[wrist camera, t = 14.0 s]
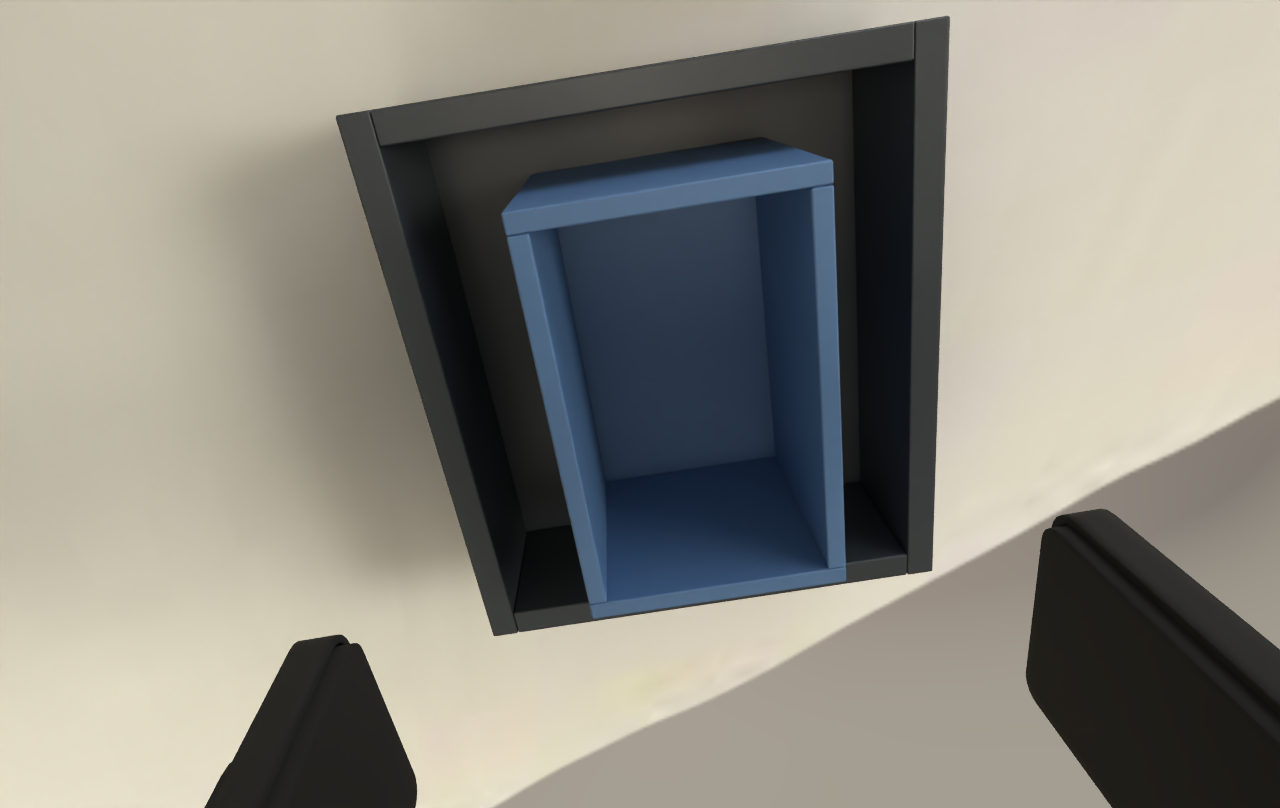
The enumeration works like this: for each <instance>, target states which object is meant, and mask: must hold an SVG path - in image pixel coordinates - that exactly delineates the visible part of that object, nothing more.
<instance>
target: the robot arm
mask: <svg viewBox="0 0 1280 808" xmlns="http://www.w3.org/2000/svg"><path fill="white" fill-rule="evenodd" d="M1026 679H1027V684H1028V687H1029V690H1030V693H1031V695H1032V697H1033V699H1034V700H1035V702H1036V703H1037V705H1038V706H1039V708H1040V709H1041V710H1042V712H1043V713H1044V714H1045V716H1046V717H1047V718H1048V720H1049V721H1050V723H1051V724H1052V725H1053V727H1054V728H1055V730H1056V731H1057V732H1058V734H1059V735H1060V736H1061V738H1062V739H1063V741H1064V742H1065V743H1066V745H1067V746H1068V747H1069V749H1070V750H1071V751H1072V753H1073V754H1074V756H1075V757H1076V758H1077V760H1078V761H1079V763H1080V764H1081V765H1082V767H1083V768H1084V769H1085V771H1086V772H1087V774H1088V775H1089V776H1090V778H1091V779H1092V780H1093V782H1094V783H1095V785H1096V786H1097V787H1098V789H1099V790H1100V791H1101V793H1102V794H1103V795H1104V797H1105V798H1106V800H1107V801H1108V802H1109V804H1110V805H1111V807H1112V808H1280V650H1279V649H1278V648H1277V647H1276V646H1275V645H1273V644H1272V643H1271V642H1270V641H1269V640H1267V639H1266V638H1265V637H1264V636H1262V635H1261V634H1260V633H1259V632H1257V631H1256V630H1255V629H1254V628H1253V627H1251V626H1250V625H1249V624H1248V623H1247V622H1245V621H1244V620H1243V619H1242V618H1240V617H1239V616H1238V615H1237V614H1236V613H1234V612H1233V611H1232V610H1231V609H1229V608H1228V607H1227V606H1226V605H1224V604H1223V603H1222V602H1221V601H1220V600H1218V599H1217V598H1216V597H1215V596H1214V595H1212V594H1211V593H1210V592H1209V591H1207V590H1206V589H1205V588H1204V587H1203V586H1201V585H1200V584H1199V583H1198V582H1196V581H1195V580H1194V579H1192V577H1190V576H1189V575H1188V574H1186V573H1185V572H1184V571H1183V570H1182V569H1180V568H1179V567H1178V566H1177V565H1176V564H1174V563H1173V562H1172V561H1171V560H1169V559H1168V558H1167V557H1166V556H1164V555H1163V554H1162V553H1161V552H1160V551H1158V550H1157V549H1156V548H1155V547H1154V546H1152V545H1151V544H1150V543H1149V542H1147V541H1146V540H1145V539H1144V538H1143V537H1141V536H1140V535H1139V534H1138V533H1137V532H1135V531H1134V530H1133V529H1132V528H1130V527H1129V526H1128V525H1127V524H1126V523H1124V522H1123V521H1122V520H1121V519H1119V518H1118V517H1117V516H1116V515H1114V514H1113V513H1111V512H1110V511H1108V510H1104V509H1096V510H1090V511H1084V512H1078V513H1072V514H1066V515H1061V516H1058V517H1056V519H1055V520H1054V522H1053V525H1052V528H1049V529H1046V530H1045V531H1044V533H1043V535H1042V540H1041V549H1040V558H1039V566H1038V574H1037V584H1036V591H1035V601H1034V608H1033V617H1032V625H1031V635H1030V643H1029V651H1028V660H1027V668H1026ZM416 800H417V784H416V778H415V774H414V772H413V769H412V767H411V765H410V762H409V760H408V757H407V755H406V752H405V750H404V748H403V745H402V743H401V740H400V738H399V736H398V733H397V731H396V728H395V726H394V724H393V721H392V719H391V716H390V714H389V712H388V709H387V707H386V704H385V702H384V700H383V697H382V695H381V692H380V690H379V688H378V685H377V683H376V680H375V678H374V675H373V673H372V671H371V668H370V666H369V663H368V661H367V659H366V656H365V654H364V651H363V649H362V648H361V646H360V645H359V644H358V643H352V644H349V642H348V640H347V638H345V637H344V636H343V635H333V636H327V637H321V638H315V639H309V640H303V641H298V642H297V643H295V644H294V645H293V646H292V648H291V649H290V651H289V652H288V654H287V656H286V658H285V660H284V662H283V664H282V666H281V668H280V670H279V672H278V674H277V676H276V678H275V680H274V682H273V683H272V685H271V687H270V689H269V691H268V693H267V695H266V697H265V699H264V701H263V703H262V705H261V707H260V709H259V711H258V713H257V714H256V716H255V718H254V720H253V722H252V724H251V726H250V728H249V730H248V732H247V734H246V736H245V738H244V740H243V742H242V744H241V745H240V747H239V749H238V751H237V753H236V755H235V757H234V759H233V761H232V762H231V763H230V764H229V765H228V767H227V768H226V770H225V771H224V773H223V774H222V776H221V777H220V779H219V781H218V783H217V785H216V787H215V789H214V791H213V793H212V795H211V796H210V798H209V800H208V802H207V804H206V806H205V808H415V806H416Z"/></svg>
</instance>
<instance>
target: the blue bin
mask: <svg viewBox="0 0 1280 808" xmlns="http://www.w3.org/2000/svg"><path fill="white" fill-rule="evenodd" d="M833 182H834V175H833V161H832V160H830V159H827V158H824V157H821V156H818V155H815V154H812V153H809V152H806V151H803V150H800V149H797V148H794V147H791V146H788V145H785V144H782V143H779V142H776V141H773V140H770V139H767V138H764V137H758V138H752V139H746V140H740V141H734V142H727V143H721V144H715V145H709V146H703V147H696V148H690V149H684V150H678V151H672V152H665V153H659V154H653V155H647V156H640V157H634V158H628V159H622V160H616V161H609V162H603V163H597V164H591V165H585V166H578V167H572V168H566V169H560V170H554V171H547V172H541V173H535V174H532V175H531V176H530V178H529V179H528V180H527V181H526V183H525V184H524V185H523V187H522V188H521V189H520V190H519V192H518V193H517V194H516V195H515V197H514V198H513V199H512V201H511V202H510V203H509V204H508V206H507V207H506V208H505V209H504V211H503V212H502V214H501V216H502V221H503V225H504V230H505V234H506V235H507V243H508V247H509V252H510V256H511V261H512V265H513V269H514V274H515V278H516V283H517V287H518V292H519V296H520V300H521V305H522V309H523V314H524V318H525V322H526V327H527V331H528V336H529V340H530V345H531V349H532V353H533V358H534V362H535V367H536V371H537V376H538V380H539V384H540V389H541V393H542V398H543V402H544V406H545V411H546V415H547V420H548V424H549V429H550V433H551V437H552V442H553V446H554V451H555V455H556V460H557V464H558V468H559V473H560V477H561V482H562V486H563V490H564V495H565V499H566V504H567V508H568V513H569V517H570V521H571V526H572V530H573V535H574V539H575V544H576V548H577V552H578V557H579V561H580V566H581V570H582V574H583V579H584V583H585V588H586V592H587V597H588V601H589V603H590V610H591V614H592V618H593V619H596V618H602V617H609V616H616V615H622V614H629V613H636V612H642V611H649V610H656V609H662V608H669V607H676V606H682V605H689V604H696V603H702V602H709V601H716V600H722V599H729V598H736V597H743V596H749V595H756V594H763V593H769V592H776V591H783V590H789V589H796V588H803V587H809V586H816V585H823V584H829V583H836V582H843V581H846V567H845V565H846V556H845V524H844V493H843V461H842V429H841V398H840V366H839V335H838V303H837V271H836V240H835V208H834V186H833V185H832V183H833Z"/></svg>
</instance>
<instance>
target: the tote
mask: <svg viewBox="0 0 1280 808" xmlns="http://www.w3.org/2000/svg"><path fill="white" fill-rule="evenodd" d="M949 29H950V17H949V16H944V17H937V18H931V19H925V20H919V21H914V22H907V23H901V24H895V25H888V26H882V27H876V28H870V29H864V30H858V31H852V32H846V33H839V34H833V35H827V36H821V37H815V38H809V39H803V40H796V41H790V42H784V43H778V44H772V45H766V46H760V47H754V48H747V49H741V50H735V51H729V52H723V53H717V54H711V55H705V56H698V57H692V58H686V59H680V60H674V61H668V62H662V63H656V64H649V65H643V66H637V67H631V68H625V69H619V70H613V71H606V72H600V73H594V74H588V75H582V76H576V77H570V78H564V79H557V80H551V81H545V82H539V83H533V84H527V85H521V86H515V87H508V88H502V89H496V90H490V91H484V92H478V93H472V94H466V95H459V96H453V97H447V98H441V99H435V100H429V101H423V102H416V103H410V104H404V105H398V106H392V107H386V108H380V109H374V110H368V111H361V112H355V113H349V114H343V115H337V116H336V120H337V124H338V127H339V130H340V133H341V137H342V140H343V143H344V147H345V150H346V153H347V156H348V160H349V163H350V166H351V170H352V173H353V176H354V179H355V183H356V186H357V189H358V192H359V196H360V199H361V202H362V206H363V209H364V212H365V215H366V219H367V222H368V225H369V229H370V232H371V235H372V238H373V242H374V245H375V248H376V251H377V255H378V258H379V261H380V265H381V268H382V271H383V274H384V278H385V281H386V284H387V288H388V291H389V294H390V297H391V301H392V304H393V307H394V310H395V314H396V317H397V320H398V324H399V327H400V330H401V333H402V337H403V340H404V343H405V347H406V350H407V353H408V356H409V360H410V363H411V366H412V369H413V373H414V376H415V379H416V383H417V386H418V389H419V392H420V396H421V399H422V402H423V405H424V409H425V412H426V415H427V419H428V422H429V425H430V428H431V432H432V435H433V438H434V442H435V445H436V448H437V451H438V455H439V458H440V461H441V464H442V468H443V471H444V474H445V478H446V481H447V484H448V487H449V491H450V494H451V497H452V501H453V504H454V507H455V510H456V514H457V517H458V520H459V523H460V527H461V530H462V533H463V537H464V540H465V543H466V546H467V550H468V553H469V556H470V560H471V563H472V566H473V569H474V573H475V576H476V579H477V582H478V586H479V589H480V592H481V596H482V599H483V602H484V605H485V609H486V612H487V615H488V619H489V622H490V625H491V628H492V632H493V635H494V636H499V635H506V634H513V633H517V632H518V631H519V632H524V631H531V630H538V629H544V628H551V627H558V626H564V625H571V624H578V623H584V622H591V621H598V620H604V619H611V618H618V617H625V616H631V615H638V614H645V613H651V612H658V611H665V610H671V609H678V608H685V607H691V606H698V605H705V604H712V603H718V602H725V601H732V600H738V599H745V598H752V597H758V596H765V595H772V594H779V593H785V592H792V591H799V590H805V589H812V588H819V587H825V586H832V585H839V584H845V583H852V582H859V581H866V580H872V579H879V578H886V577H892V576H899V575H905V574H906V573H907V574H914V573H921V572H928V571H932V558H933V527H934V495H935V464H936V433H937V402H938V371H939V340H940V309H941V278H942V247H943V216H944V184H945V153H946V122H947V91H948V60H949ZM758 137H764V138H767V139H770V140H773V141H776V142H779V143H782V144H785V145H788V146H791V147H794V148H797V149H800V150H803V151H806V152H809V153H812V154H815V155H818V156H821V157H824V158H827V159H830V160H832V161H833V175H834V182H833V183H832V185H833V186H834V208H835V240H836V271H837V303H838V335H839V366H840V398H841V429H842V461H843V493H844V524H845V556H846V565H845V567H846V581H843V582H836V583H829V584H823V585H816V586H809V587H803V588H796V589H789V590H783V591H776V592H769V593H763V594H756V595H749V596H743V597H736V598H729V599H722V600H716V601H709V602H702V603H696V604H689V605H682V606H676V607H669V608H662V609H656V610H649V611H642V612H636V613H629V614H622V615H616V616H609V617H602V618H596V619H593V618H592V614H591V610H590V603H589V601H588V597H587V592H586V588H585V583H584V579H583V574H582V570H581V566H580V561H579V557H578V552H577V548H576V544H575V539H574V535H573V530H572V526H571V521H570V517H569V513H568V508H567V504H566V499H565V495H564V490H563V486H562V482H561V477H560V473H559V468H558V464H557V460H556V455H555V451H554V446H553V442H552V437H551V433H550V429H549V424H548V420H547V415H546V411H545V406H544V402H543V398H542V393H541V389H540V384H539V380H538V376H537V371H536V367H535V362H534V358H533V353H532V349H531V345H530V340H529V336H528V331H527V327H526V322H525V318H524V314H523V309H522V305H521V300H520V296H519V292H518V287H517V283H516V278H515V274H514V269H513V265H512V261H511V256H510V252H509V247H508V243H507V235H506V234H505V230H504V225H503V221H502V216H501V214H502V212H503V211H504V209H505V208H506V207H507V206H508V204H509V203H510V202H511V201H512V199H513V198H514V197H515V195H516V194H517V193H518V192H519V190H520V189H521V188H522V187H523V185H524V184H525V183H526V181H527V180H528V179H529V178H530V176H531V175H532V174H535V173H541V172H547V171H554V170H560V169H566V168H572V167H578V166H585V165H591V164H597V163H603V162H609V161H616V160H622V159H628V158H634V157H640V156H647V155H653V154H659V153H665V152H672V151H678V150H684V149H690V148H696V147H703V146H709V145H715V144H721V143H727V142H734V141H740V140H746V139H752V138H758Z"/></svg>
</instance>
